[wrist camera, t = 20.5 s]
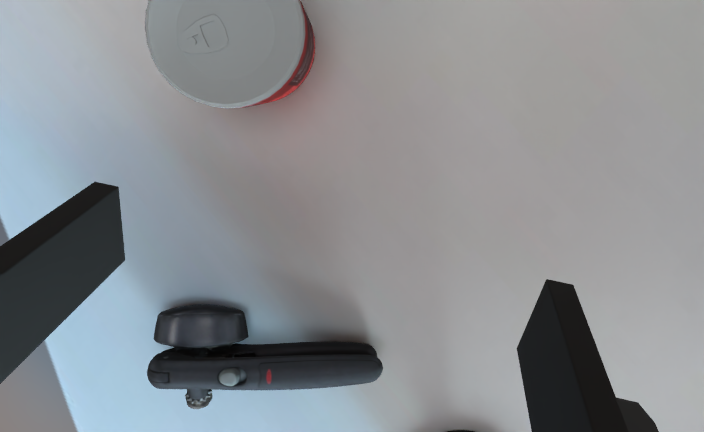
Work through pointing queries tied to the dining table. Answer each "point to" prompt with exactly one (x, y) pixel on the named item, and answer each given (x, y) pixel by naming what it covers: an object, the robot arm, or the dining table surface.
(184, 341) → the can opener
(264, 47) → the canned food
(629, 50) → the dining table surface
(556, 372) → the robot arm
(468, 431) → the wine glass
